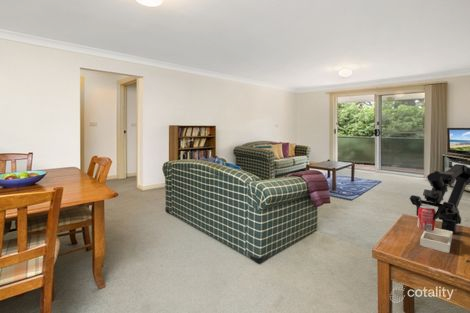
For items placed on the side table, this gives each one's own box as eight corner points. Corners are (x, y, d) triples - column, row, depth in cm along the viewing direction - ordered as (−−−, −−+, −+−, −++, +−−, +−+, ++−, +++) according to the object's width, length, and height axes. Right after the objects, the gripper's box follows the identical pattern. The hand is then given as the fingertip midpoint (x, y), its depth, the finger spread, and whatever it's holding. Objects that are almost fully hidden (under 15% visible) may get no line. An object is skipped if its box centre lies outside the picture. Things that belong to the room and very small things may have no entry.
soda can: (425, 226, 133) (426, 204, 132) (438, 231, 126) (439, 208, 125) (413, 227, 132) (415, 205, 130) (425, 233, 125) (427, 209, 123)
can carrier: (425, 232, 141) (426, 226, 141) (451, 238, 134) (452, 231, 133) (419, 245, 126) (420, 237, 125) (449, 253, 118) (449, 244, 118)
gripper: (412, 180, 136) (399, 203, 132) (455, 187, 120) (443, 213, 116) (418, 192, 141) (406, 215, 137) (461, 201, 125) (449, 227, 121)
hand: (425, 217), depth 127 cm, fingers closed on soda can, 7 cm apart
